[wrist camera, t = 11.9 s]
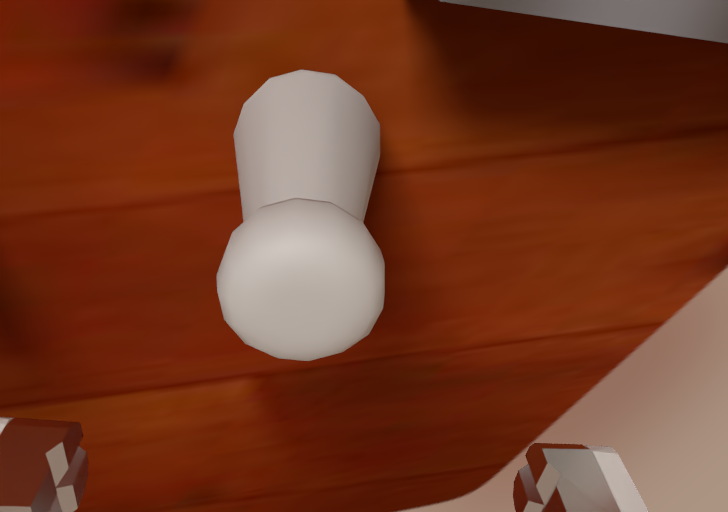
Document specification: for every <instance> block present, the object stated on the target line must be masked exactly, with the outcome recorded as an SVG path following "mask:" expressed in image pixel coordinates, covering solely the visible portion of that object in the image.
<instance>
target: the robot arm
mask: <svg viewBox="0 0 728 512" xmlns="http://www.w3.org/2000/svg"><path fill="white" fill-rule="evenodd" d="M82 437H83V433H82V429H81V425H80V423H78V422H66V421H52V420H39V419H25V418H10V417H0V512H73V511H75V510H76V509H77V508H78V506H79V503H80V501H81V498H82V496H83V493H84V490H85V485H86V481H87V476H88V457H87V452H86V451H84V450H83V449H82V448H81V447H79V444H80V441H81V439H82ZM526 458H527V461H528V465H526V466H525V467H523V468H521V469H520V470H519V471H518V473H517V476H516V478H515V481H514V491H513V498H514V505H515V510H516V512H648V510H647V508H646V506H645V504H644V502H643V500H642V498H641V497H640V495H639V493H638V491H637V489H636V487H635V485H634V483H633V481H632V480H631V478H630V476H629V474H628V472H627V470H626V468H625V466H624V464H623V463H622V461H621V459H620V457H619V455H618V453H617V452H616V451H615V450H614V449H613V448H612V447H608V446H587V445H586V446H583V445H577V444H548V443H534V444H533V445H531V446H530V447H529V449H528V451H527V453H526Z"/></svg>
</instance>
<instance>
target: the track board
mask: <svg viewBox="0 0 728 512" xmlns="http://www.w3.org/2000/svg"><path fill="white" fill-rule="evenodd" d="M439 1H441V2H448V3H454V4H461V5H468V6H475V7H482V8H489V9H496V10H502V11H509V12H516V13H523V14H530V15H537V16H544V17H550V18H557V19H564V20H571V21H578V22H585V23H592V24H598V25H605V26H612V27H619V28H626V29H633V30H640V31H646V32H653V33H660V34H667V35H674V36H681V37H688V38H695V39H701V40H708V41H715V42H722V43H728V0H439Z"/></svg>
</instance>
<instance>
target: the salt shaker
mask: <svg viewBox="0 0 728 512" xmlns="http://www.w3.org/2000/svg"><path fill="white" fill-rule="evenodd" d="M234 141H235V150H236V159H237V168H238V176H239V185H240V194H241V203H242V211H243V220H244V222H243V223H242V224H241V225H240V226H239V227H238V228H237V229H235V230H234V231H233V232H232V235H231V237H230V240H229V243H228V245H227V248H226V251H225V254H224V256H223V259H222V262H221V264H220V267H219V270H218V273H217V292H218V296H219V300H220V304H221V308H222V312H223V316H224V320H225V321H226V322H227V324H228V325H229V326H230V327H231V328H232V329H233V330H234V331H235V333H236V334H237V335H238V336H239V337H240V338H241V339H242V341H243V342H244V343H245V344H247V345H249V346H252V347H254V348H256V349H258V350H261V351H263V352H265V353H267V354H270V355H272V356H274V357H277V358H282V359H293V360H303V361H310V360H314V359H318V358H322V357H326V356H330V355H333V354H337V353H341V352H344V351H345V350H347V349H348V348H349V347H351V346H352V345H354V344H355V343H357V342H358V341H360V340H361V339H363V338H364V337H365V336H367V335H368V334H369V333H370V331H371V330H372V328H373V326H374V324H375V322H376V320H377V319H378V317H379V315H380V313H381V311H382V309H383V305H384V296H385V263H384V260H383V256H382V253H381V250H380V248H379V247H378V245H377V244H376V242H375V241H374V239H373V237H372V236H371V234H370V233H369V231H368V230H367V228H366V227H365V225H364V223H363V222H364V218H365V214H366V210H367V206H368V202H369V198H370V194H371V190H372V186H373V182H374V178H375V174H376V170H377V166H378V162H379V158H380V124H379V122H378V121H377V119H376V117H375V115H374V114H373V112H372V110H371V108H370V107H369V105H368V103H367V101H366V100H365V98H364V96H363V95H362V94H360V93H359V92H358V91H356V90H355V89H354V88H352V87H351V86H350V85H348V84H347V83H346V82H344V81H343V80H342V79H340V78H339V77H338V76H336V75H335V74H329V73H322V72H315V71H308V70H302V69H301V70H298V71H294V72H291V73H287V74H283V75H280V76H276V77H273V78H270V79H268V80H267V81H266V82H265V83H264V84H263V85H262V86H261V87H260V88H259V89H258V90H257V91H256V92H255V93H254V94H253V95H252V96H251V97H250V98H249V99H248V100H247V101H246V102H245V103H244V105H243V108H242V111H241V114H240V117H239V120H238V123H237V126H236V129H235V132H234Z"/></svg>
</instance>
